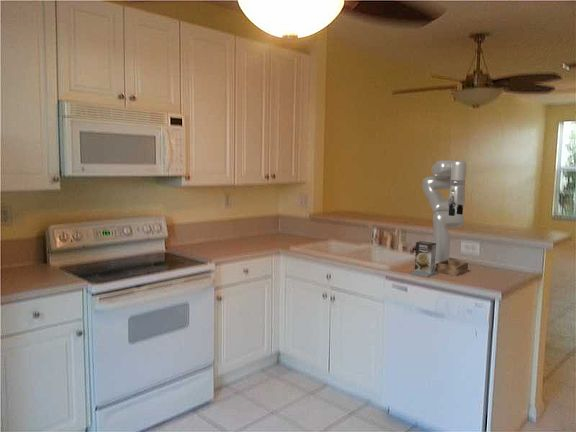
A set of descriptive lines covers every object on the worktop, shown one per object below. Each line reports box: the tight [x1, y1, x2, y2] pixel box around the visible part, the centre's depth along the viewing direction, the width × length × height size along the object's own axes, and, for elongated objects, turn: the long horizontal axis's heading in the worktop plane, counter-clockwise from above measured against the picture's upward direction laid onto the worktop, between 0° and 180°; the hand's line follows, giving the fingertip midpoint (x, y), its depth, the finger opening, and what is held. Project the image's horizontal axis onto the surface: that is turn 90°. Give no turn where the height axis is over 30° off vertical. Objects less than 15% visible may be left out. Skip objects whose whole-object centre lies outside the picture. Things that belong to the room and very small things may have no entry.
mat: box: [410, 270, 438, 278], centre depth 241 cm, size 10×12×1 cm
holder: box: [435, 259, 469, 277], centre depth 246 cm, size 12×14×5 cm
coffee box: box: [414, 240, 436, 274], centre depth 240 cm, size 9×6×16 cm
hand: (455, 215), depth 244 cm, fingers open, 9 cm apart
